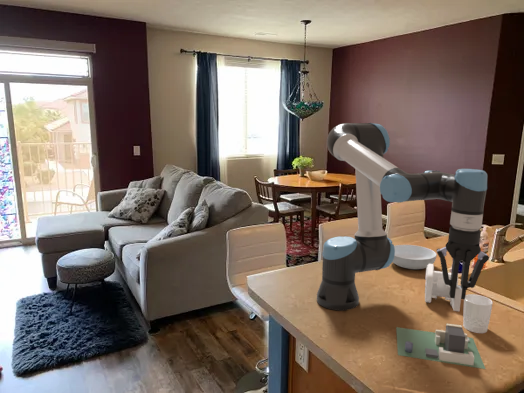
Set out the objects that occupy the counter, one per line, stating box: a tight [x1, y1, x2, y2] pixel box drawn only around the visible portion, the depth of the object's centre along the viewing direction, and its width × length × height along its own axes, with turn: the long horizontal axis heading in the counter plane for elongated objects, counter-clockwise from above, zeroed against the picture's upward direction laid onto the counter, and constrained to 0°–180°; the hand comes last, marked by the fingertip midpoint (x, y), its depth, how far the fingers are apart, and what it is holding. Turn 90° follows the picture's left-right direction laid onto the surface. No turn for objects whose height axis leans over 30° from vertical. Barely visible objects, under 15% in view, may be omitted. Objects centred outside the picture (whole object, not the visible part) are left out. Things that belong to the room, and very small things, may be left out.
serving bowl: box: [392, 244, 438, 270], centre depth 180 cm, size 21×21×7 cm
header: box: [434, 329, 474, 365], centre depth 112 cm, size 8×11×4 cm
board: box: [395, 326, 486, 370], centre depth 115 cm, size 22×16×3 cm
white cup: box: [462, 293, 493, 334], centre depth 125 cm, size 8×8×10 cm
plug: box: [444, 323, 466, 354], centre depth 111 cm, size 4×6×7 cm, turn 163°
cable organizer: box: [424, 263, 459, 307], centre depth 146 cm, size 15×11×12 cm
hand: (455, 308), depth 110 cm, fingers closed
